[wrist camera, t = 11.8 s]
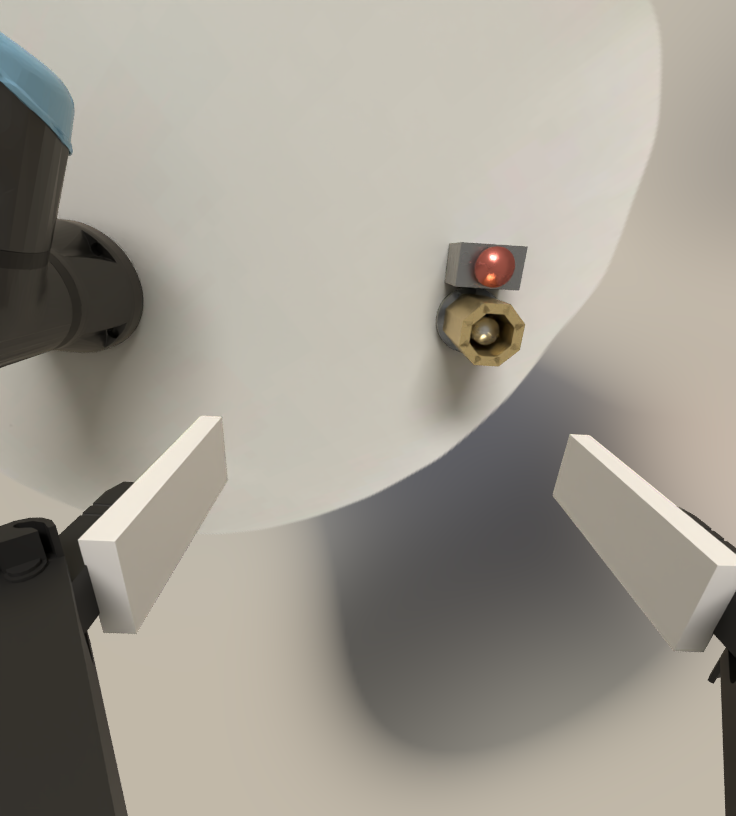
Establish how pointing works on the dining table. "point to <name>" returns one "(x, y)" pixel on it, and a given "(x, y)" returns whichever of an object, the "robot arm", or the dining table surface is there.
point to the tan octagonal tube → (469, 312)
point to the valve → (480, 281)
